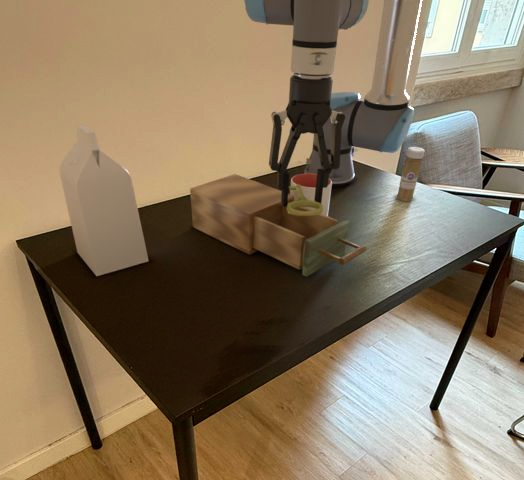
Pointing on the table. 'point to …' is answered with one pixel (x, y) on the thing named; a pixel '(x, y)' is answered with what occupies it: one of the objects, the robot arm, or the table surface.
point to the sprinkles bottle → (410, 173)
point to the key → (303, 204)
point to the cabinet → (232, 208)
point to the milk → (101, 207)
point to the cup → (311, 190)
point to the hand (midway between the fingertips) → (301, 203)
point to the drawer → (302, 239)
